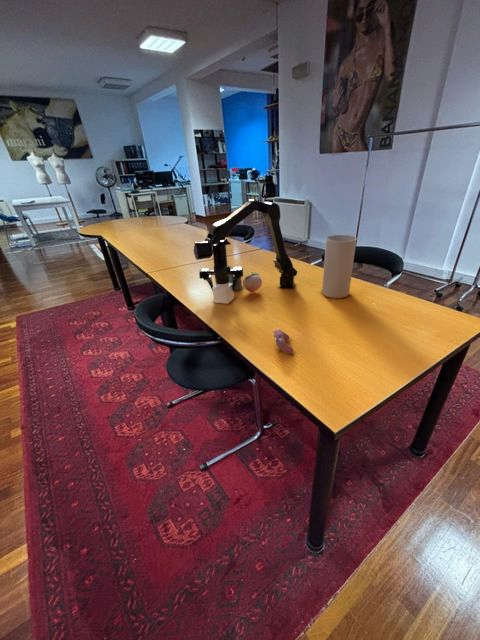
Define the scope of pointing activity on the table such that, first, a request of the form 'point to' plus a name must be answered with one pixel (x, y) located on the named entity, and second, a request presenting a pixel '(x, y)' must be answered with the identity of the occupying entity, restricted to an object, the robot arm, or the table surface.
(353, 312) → the table surface
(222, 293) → the medicine bottle
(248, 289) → the decorative fruit
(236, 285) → the glazed cup
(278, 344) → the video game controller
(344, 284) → the cylinder vase
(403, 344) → the table surface
